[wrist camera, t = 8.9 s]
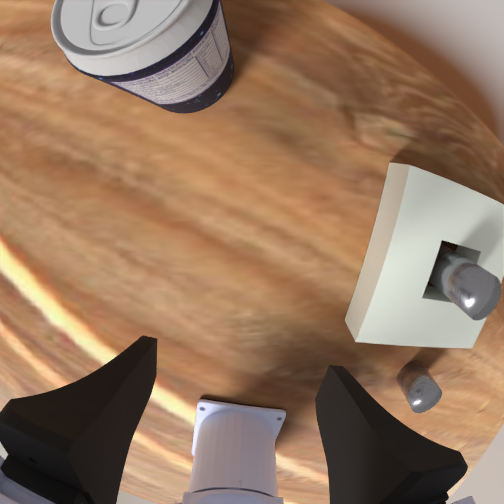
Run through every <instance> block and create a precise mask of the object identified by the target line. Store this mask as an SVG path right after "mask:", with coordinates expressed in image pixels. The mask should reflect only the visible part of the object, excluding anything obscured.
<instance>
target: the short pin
mask: <svg viewBox="0 0 504 504" xmlns="http://www.w3.org/2000/svg"><path fill="white" fill-rule="evenodd" d="M397 382H398V384H399V386H400V388H401V390H402V391H403V393H404V395H405V397H406V399H407V401H408V402H409V404H410V406H411V408H412V410H413V411H414V412H415V413H422V412H425V411H427V410H429V409H431V408H432V407H433V406H434V405H436V404H437V402H438V401H439V400H440V398H441V396H442V391H441V389H440V388H439V386H438V385H437V383H436V382H435V380H434V379H433V377H432V376H431V374H430V373H429V372H428V370H427V369H426V367H425V366H424V364H423V363H422V362H420V361H414V362H411V363H409V364H407V365H405V366H404V367H403V368H402V369H401V370H400V371H399V373H398V375H397Z"/></svg>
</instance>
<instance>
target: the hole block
mask: <svg viewBox="0 0 504 504" xmlns="http://www.w3.org/2000/svg"><path fill="white" fill-rule="evenodd" d="M442 240H443V241H447V242H450V243H454V244H457V245H458V246H457V249H456V252H457V253H459V254H461V255H462V256H464V257H466V258H467V259H469V260H471V261H472V262H474V263H476V264H477V265H479V266H480V267H482V268H484V269H485V270H487V271H488V272H490V273H492V274H493V275H495V276H496V277H497V278H498V279H499V280H500V283H501V282H502V279H503V276H504V204H502V203H500V202H498V201H496V200H494V199H491V198H489V197H487V196H485V195H483V194H481V193H478V192H476V191H474V190H472V189H469V188H467V187H465V186H463V185H460V184H458V183H455V182H453V181H451V180H448V179H446V178H443V177H441V176H438V175H436V174H433V173H430V172H428V171H425V170H422V169H420V168H417V167H414V166H411V165H406V164H398V163H390V162H389V167H388V171H387V176H386V180H385V184H384V189H383V193H382V197H381V201H380V205H379V209H378V213H377V217H376V221H375V224H374V228H373V232H372V235H371V239H370V242H369V246H368V249H367V253H366V256H365V259H364V263H363V266H362V269H361V272H360V275H359V279H358V282H357V285H356V288H355V291H354V294H353V297H352V300H351V303H350V306H349V308H348V311H347V314H346V317H345V322H346V324H347V326H348V328H349V330H350V332H351V334H352V336H353V338H354V340H355V342H363V343H374V344H387V345H401V346H418V347H440V348H472V347H473V345H474V343H475V341H476V339H477V337H478V335H479V333H480V331H481V329H482V327H483V325H484V322H485V320H486V318H487V317H485V318H484V319H482V320H477V321H476V320H473V319H471V318H470V317H469V316H468V315H467V314H466V313H465V312H463V311H462V310H461V309H460V308H459V307H458V306H457V305H456V304H454V303H453V302H452V301H451V300H450V299H449V298H448V297H446V296H445V295H444V294H443V293H442V292H441V291H439V290H438V289H437V288H436V287H434V286H428V285H427V283H428V280H429V278H430V275H431V272H432V269H433V266H434V263H435V260H436V257H437V254H438V251H439V248H440V245H441V241H442Z"/></svg>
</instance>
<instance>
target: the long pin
mask: <svg viewBox="0 0 504 504" xmlns="http://www.w3.org/2000/svg"><path fill="white" fill-rule="evenodd" d="M428 281H429V282H430V283H431V284H432V285H434V286H435V287H436V288H437V289H438V290H439V291H441V292H442V293H443V294H444V295H445V296H446V297H448V298H449V299H450V300H451V301H452V302H453V303H454V304H456V305H457V306H458V307H459V308H460V309H461V310H462V311H463V312H465V313H466V314H467V315H468V316H469V317H470V318H471V319H473V320H476V321H477V320H482V319H484V318H485V317H487V316H488V315H489V314H490V313H491V312H492V311H493V310H494V308H495V307H496V305H497V303H498V301H499V298H500V294H501V283H500V280H499V279H498V278H497V277H496V276H495V275H493V274H492V273H490V272H488V271H487V270H485V269H484V268H482V267H480V266H479V265H477V264H476V263H474V262H472V261H471V260H469V259H467V258H466V257H464V256H462V255H461V254H459V253H457V252H456V251H454V250H452V249H450V248H449V247H447V246H445V245H444V244H442V243H441V245H440V248H439V251H438V254H437V257H436V260H435V263H434V266H433V269H432V272H431V275H430V278H429V280H428Z"/></svg>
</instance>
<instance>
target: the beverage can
mask: <svg viewBox="0 0 504 504" xmlns="http://www.w3.org/2000/svg"><path fill="white" fill-rule="evenodd" d="M51 29H52V33H53V37H54V39H55V40H56V42H57V44H58V45H59V46H60V48H61V49H62V50H63V51H64V54H65V56H66V58H67V59H68V61H69V62H70V63H71V65H72V66H73V67H74V68H76V69H77V70H78V71H80V72H81V73H83V74H85V75H88V76H90V77H93V78H95V79H98V80H100V81H103V82H105V83H107V84H110V85H112V86H115V87H117V88H119V89H121V90H124V91H126V92H128V93H131V94H133V95H135V96H137V97H140V98H142V99H144V100H146V101H148V102H151V103H153V104H155V105H157V106H159V107H161V108H163V109H165V110H168V111H171V112H175V113H193V112H197V111H200V110H203V109H205V108H207V107H209V106H211V105H212V104H214V103H215V102H217V101H218V100H219V99H220V98H221V97H222V96H223V95H224V94H225V92H226V91H227V89H228V88H229V86H230V84H231V81H232V78H233V74H234V61H233V56H232V51H231V46H230V41H229V37H228V32H227V27H226V22H225V17H224V12H223V7H222V3H221V0H56V1H55V3H54V7H53V10H52V16H51Z"/></svg>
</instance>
